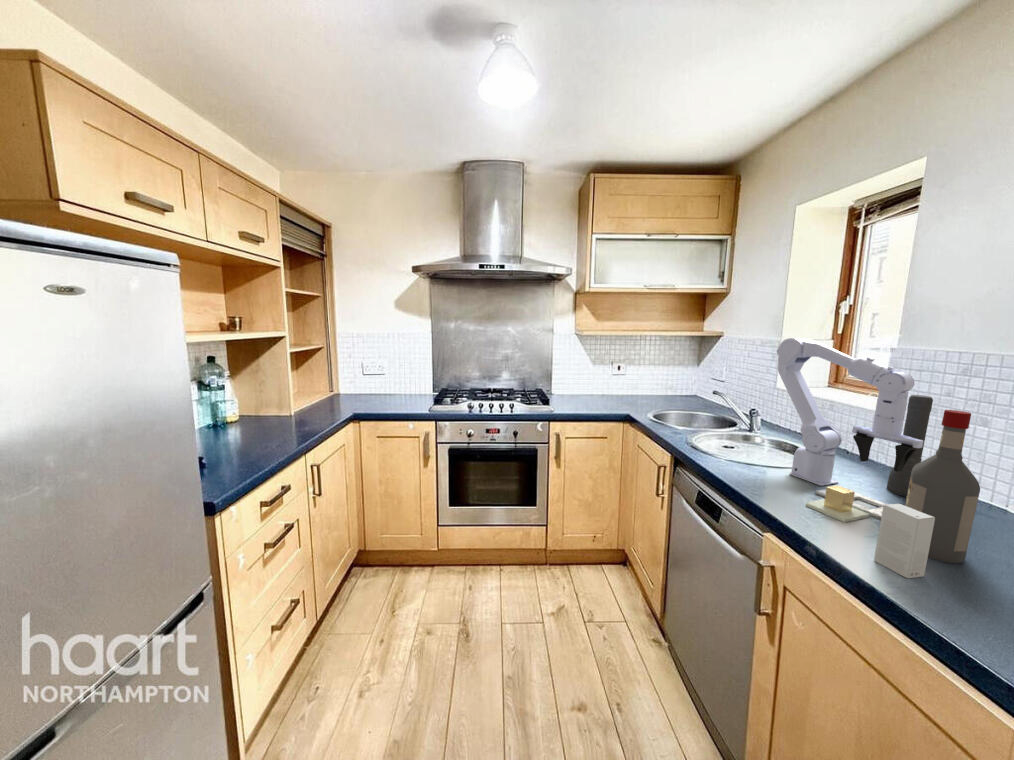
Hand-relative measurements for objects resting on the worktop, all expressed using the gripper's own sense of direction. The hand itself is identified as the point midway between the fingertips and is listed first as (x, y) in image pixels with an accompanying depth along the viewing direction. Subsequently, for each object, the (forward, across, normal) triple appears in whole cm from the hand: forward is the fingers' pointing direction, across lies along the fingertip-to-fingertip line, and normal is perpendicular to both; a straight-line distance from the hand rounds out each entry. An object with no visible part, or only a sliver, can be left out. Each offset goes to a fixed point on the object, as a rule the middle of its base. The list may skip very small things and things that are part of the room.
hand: (880, 465), depth 109 cm
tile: (+9, +2, -19) cm, 21 cm away
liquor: (+10, +20, -19) cm, 29 cm away
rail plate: (+9, +2, -8) cm, 13 cm away
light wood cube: (+9, +2, -19) cm, 21 cm away
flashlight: (+10, 0, +14) cm, 17 cm away
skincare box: (+10, +22, -34) cm, 42 cm away
